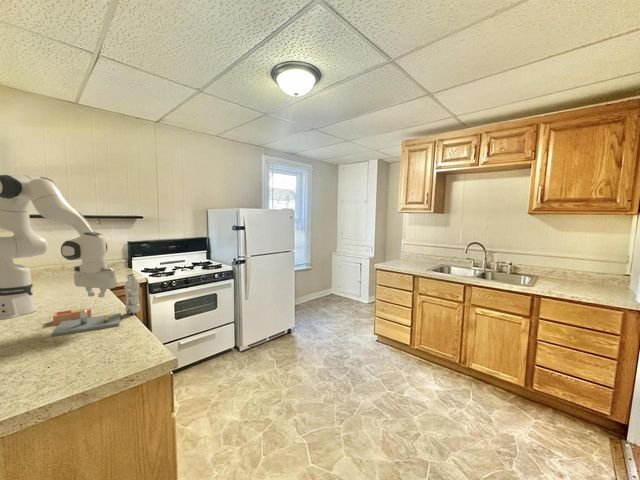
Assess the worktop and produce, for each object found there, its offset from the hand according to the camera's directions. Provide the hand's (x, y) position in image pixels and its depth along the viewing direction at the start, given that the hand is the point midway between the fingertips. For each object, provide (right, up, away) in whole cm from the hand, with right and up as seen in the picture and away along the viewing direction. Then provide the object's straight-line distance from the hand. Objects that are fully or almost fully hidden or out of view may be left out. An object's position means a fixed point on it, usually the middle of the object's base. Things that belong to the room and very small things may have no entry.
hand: (96, 296), depth 127 cm
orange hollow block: (-14, -12, +3) cm, 18 cm away
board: (0, -13, -3) cm, 13 cm away
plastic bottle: (+8, -12, +13) cm, 19 cm away
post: (+2, -11, -4) cm, 12 cm away
